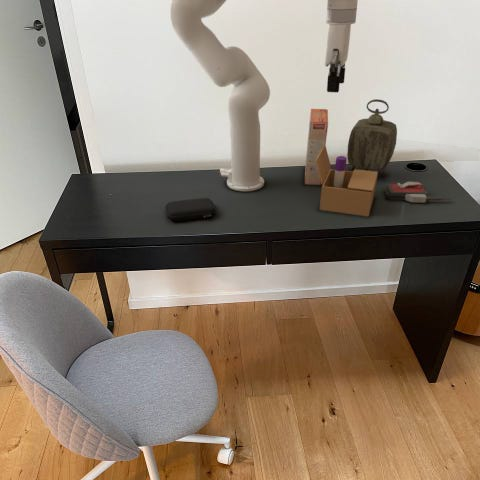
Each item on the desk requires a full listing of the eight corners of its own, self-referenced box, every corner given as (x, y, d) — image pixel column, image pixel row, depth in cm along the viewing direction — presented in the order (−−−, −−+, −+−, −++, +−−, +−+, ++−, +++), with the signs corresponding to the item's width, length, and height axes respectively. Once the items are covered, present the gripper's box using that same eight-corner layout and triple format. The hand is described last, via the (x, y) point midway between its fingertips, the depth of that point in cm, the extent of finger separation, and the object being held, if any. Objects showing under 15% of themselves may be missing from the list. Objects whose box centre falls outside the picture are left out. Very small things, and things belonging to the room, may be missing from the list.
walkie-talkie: (386, 203, 155) (450, 204, 155) (388, 190, 153) (454, 191, 152) (381, 191, 162) (443, 192, 161) (383, 178, 159) (446, 179, 159)
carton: (319, 210, 152) (322, 183, 146) (327, 192, 162) (330, 166, 157) (368, 217, 148) (373, 190, 143) (373, 198, 158) (378, 171, 153)
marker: (330, 203, 155) (335, 159, 146) (332, 198, 157) (337, 155, 148) (340, 204, 154) (345, 160, 146) (341, 200, 157) (347, 156, 148)
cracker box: (322, 186, 166) (328, 121, 152) (304, 185, 166) (309, 121, 153) (322, 169, 176) (328, 108, 163) (305, 168, 177) (310, 107, 164)
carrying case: (169, 225, 145) (218, 219, 148) (168, 216, 143) (218, 210, 146) (164, 209, 153) (211, 204, 156) (163, 200, 151) (211, 195, 154)
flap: (322, 184, 147) (321, 184, 147) (330, 166, 157) (329, 166, 157) (316, 160, 143) (315, 160, 143) (325, 144, 153) (324, 144, 153)
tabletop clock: (390, 174, 173) (404, 98, 157) (384, 184, 166) (399, 106, 150) (349, 167, 177) (359, 93, 162) (342, 177, 171) (352, 101, 155)
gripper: (332, 11, 136) (327, 79, 146) (320, 21, 123) (316, 95, 133) (360, 11, 134) (353, 80, 144) (351, 21, 121) (344, 96, 132)
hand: (335, 87), depth 139 cm, fingers open, 9 cm apart
